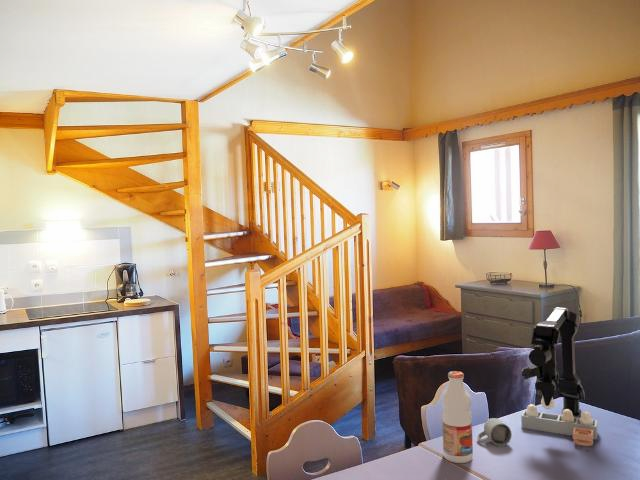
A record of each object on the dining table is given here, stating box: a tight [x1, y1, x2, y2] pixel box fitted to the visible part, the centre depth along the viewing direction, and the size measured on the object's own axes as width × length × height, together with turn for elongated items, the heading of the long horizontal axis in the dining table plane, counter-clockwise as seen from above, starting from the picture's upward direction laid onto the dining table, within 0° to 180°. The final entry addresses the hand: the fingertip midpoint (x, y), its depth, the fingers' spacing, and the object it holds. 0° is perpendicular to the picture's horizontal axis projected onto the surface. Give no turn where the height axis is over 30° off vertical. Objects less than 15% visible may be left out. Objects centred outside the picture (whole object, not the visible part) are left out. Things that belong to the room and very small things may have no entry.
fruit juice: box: [441, 370, 474, 464], centre depth 171 cm, size 9×9×28 cm
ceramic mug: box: [476, 417, 513, 447], centre depth 183 cm, size 11×8×8 cm
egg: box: [540, 395, 555, 410], centre depth 184 cm, size 4×4×6 cm
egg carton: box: [520, 403, 598, 440], centre depth 190 cm, size 7×25×8 cm, turn 60°
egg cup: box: [572, 427, 594, 447], centre depth 179 cm, size 6×6×4 cm
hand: (547, 403), depth 184 cm, fingers closed on egg, 4 cm apart
